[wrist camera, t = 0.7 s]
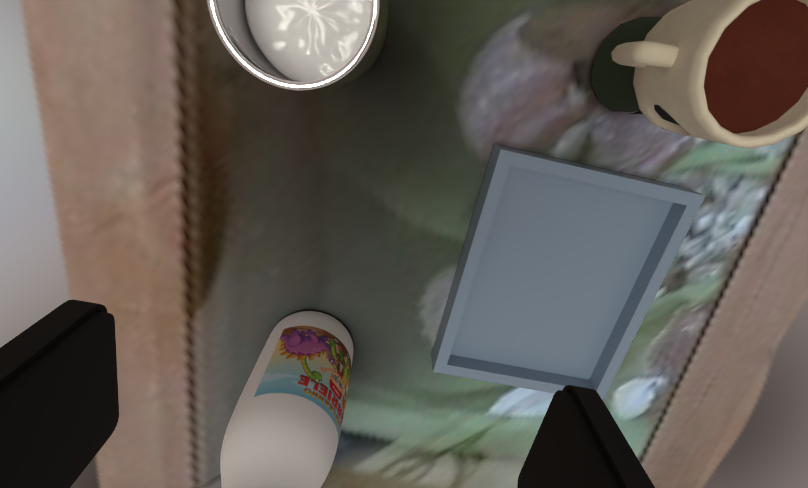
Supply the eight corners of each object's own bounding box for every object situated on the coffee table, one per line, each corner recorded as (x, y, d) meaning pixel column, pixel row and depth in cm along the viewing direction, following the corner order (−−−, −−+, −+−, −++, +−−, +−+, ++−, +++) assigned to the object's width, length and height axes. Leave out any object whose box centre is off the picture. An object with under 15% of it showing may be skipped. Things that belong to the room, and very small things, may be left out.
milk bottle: (314, 391, 42) (246, 645, 24) (253, 341, 40) (125, 580, 21) (371, 346, 40) (347, 585, 22) (310, 292, 38) (226, 506, 20)
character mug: (545, 107, 32) (631, 132, 20) (571, -1, 30) (689, -47, 18) (684, 128, 33) (848, 163, 21) (723, 24, 30) (936, -4, 18)
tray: (494, 143, 33) (500, 149, 31) (685, 187, 35) (705, 195, 32) (431, 355, 41) (433, 371, 38) (591, 384, 42) (602, 401, 40)
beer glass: (366, -49, 28) (333, -157, 15) (408, 58, 31) (414, 51, 17) (273, -1, 29) (160, -59, 16) (321, 98, 32) (259, 124, 18)
